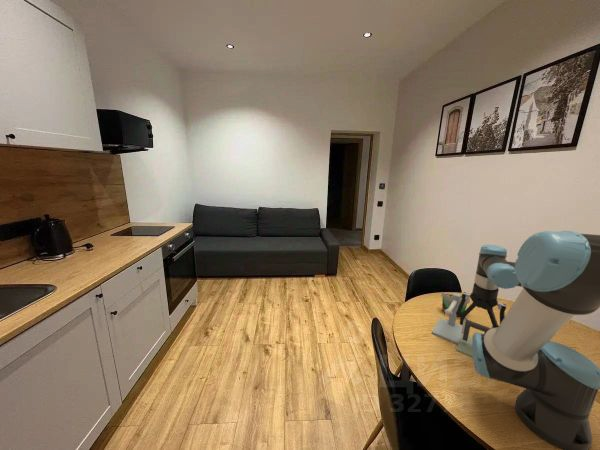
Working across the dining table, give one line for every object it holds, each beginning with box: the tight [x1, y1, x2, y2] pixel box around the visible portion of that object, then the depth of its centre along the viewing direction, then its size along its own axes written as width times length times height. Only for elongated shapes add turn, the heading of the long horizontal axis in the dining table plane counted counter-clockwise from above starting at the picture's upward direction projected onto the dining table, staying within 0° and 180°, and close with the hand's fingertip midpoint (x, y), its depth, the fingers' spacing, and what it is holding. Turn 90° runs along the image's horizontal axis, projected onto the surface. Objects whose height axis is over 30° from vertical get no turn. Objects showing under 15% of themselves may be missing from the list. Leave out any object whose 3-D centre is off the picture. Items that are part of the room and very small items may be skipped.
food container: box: [440, 292, 471, 318], centre depth 118 cm, size 12×6×10 cm, turn 72°
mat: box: [455, 334, 473, 359], centre depth 97 cm, size 12×10×1 cm
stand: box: [431, 292, 463, 346], centre depth 105 cm, size 15×10×16 cm
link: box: [462, 319, 491, 341], centre depth 95 cm, size 2×8×9 cm, turn 46°
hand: (475, 337), depth 96 cm, fingers closed on link, 8 cm apart
